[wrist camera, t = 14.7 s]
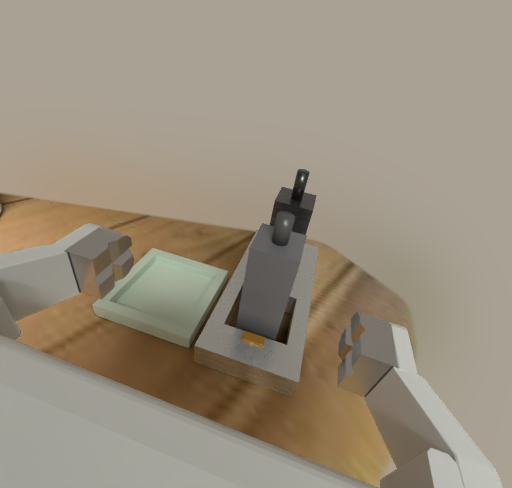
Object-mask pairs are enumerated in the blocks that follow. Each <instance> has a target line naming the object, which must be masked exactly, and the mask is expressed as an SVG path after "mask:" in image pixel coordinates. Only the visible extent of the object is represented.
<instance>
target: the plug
mask: <svg viewBox="0 0 512 488" xmlns="http://www.w3.org/2000/svg"><path fill="white" fill-rule="evenodd" d="M294 220H295V216H294V215H293V214H292V213H290V212H287V211H280V212H278V213H277V217H276V221H275V226H270V225H267V224H262V225H261V227H260V229H259V231H258V233H257V234H256V236H255V238H254V240H253V242H252V244H251V246H250V248H249V254H248V260H247V266H246V271H245V277H244V283H243V289H242V294H241V300H240V306H239V312H238V318H237V323H236V328H238V329H241V330H245V331H248V332H251V333H253V334H256V335H259V336H262V337H265V338H268V339H271V340H274V341H275V340H276V337H277V334H278V331H279V328H280V325H281V322H282V318H283V315H284V312H285V309H286V306H287V303H288V300H289V297H290V293H291V290H292V287H293V284H294V281H295V278H296V275H297V272H298V269H299V265H300V262H301V258H302V253H303V249H304V244H305V240H306V235H303V234H299V233H296V232H292V227H293V224H294Z"/></svg>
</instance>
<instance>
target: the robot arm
mask: <svg viewBox="0 0 512 488" xmlns="http://www.w3.org/2000/svg"><path fill="white" fill-rule="evenodd" d="M1 211H2V205H1V203H0V213H1ZM131 246H132V242H131V238H130V237H129V236H127V235H124V234H122V233H119V232H116V231H113V230H110V229H108V228H105V227H101V226H99V225H96V224H93V223H86V224H84V225H83V226H81V227H79V228H78V229H76V230H74V231H73V232H71V233H70V234H68V235H66V236H65V237H63V238H61V239H60V240H58V241H57V242H55V243H53V244H52V245H50V246H48V245H41V246H36V247H32V248H27V249H22V250H17V251H13V252H8V253H3V254H0V488H378V487H375V486H373V485H370V484H368V483H365V482H363V481H360V480H358V479H355V478H353V477H351V476H348V475H346V474H343V473H341V472H338V471H336V470H333V469H331V468H328V467H326V466H323V465H321V464H318V463H316V462H314V461H311V460H309V459H306V458H304V457H301V456H299V455H296V454H294V453H291V452H289V451H286V450H284V449H282V448H279V447H277V446H274V445H272V444H269V443H267V442H264V441H262V440H259V439H257V438H254V437H252V436H249V435H247V434H245V433H242V432H240V431H237V430H235V429H232V428H230V427H227V426H225V425H222V424H220V423H217V422H215V421H213V420H210V419H208V418H205V417H203V416H200V415H198V414H195V413H193V412H190V411H188V410H185V409H183V408H180V407H178V406H176V405H173V404H171V403H168V402H166V401H163V400H161V399H158V398H156V397H153V396H151V395H148V394H146V393H144V392H141V391H139V390H136V389H134V388H131V387H129V386H126V385H124V384H121V383H119V382H116V381H114V380H111V379H109V378H107V377H104V376H102V375H99V374H97V373H94V372H92V371H89V370H87V369H84V368H82V367H79V366H77V365H74V364H72V363H70V362H67V361H65V360H62V359H60V358H57V357H55V356H52V355H50V354H47V353H45V352H42V351H40V350H37V349H35V348H33V347H30V346H28V345H25V344H23V343H20V342H18V341H15V340H16V339H17V338H18V337H19V336H20V333H21V331H20V329H19V328H18V326H17V324H16V322H15V321H18V320H20V319H22V318H24V317H27V316H29V315H31V314H34V313H36V312H38V311H41V310H43V309H45V308H48V307H50V306H52V305H55V304H57V303H59V302H61V301H64V300H66V299H68V298H71V297H73V296H75V295H78V294H79V292H80V293H83V294H86V295H89V296H92V297H95V298H98V299H101V300H102V299H103V298H104V297H105V296H106V295H107V294H108V293H109V292H110V291H111V290H112V289H113V288H114V287H115V281H118V280H121V279H124V278H125V277H126V276H127V275H128V274H129V272H130V270H131V268H132V266H133V261H134V259H133V254H132V253H131V251H130V250H129V248H130V247H131ZM339 357H340V358H341V360H342V362H341V364H340V365H339V367H338V387H340V388H342V389H345V390H347V391H350V392H352V393H355V394H357V395H360V396H362V397H365V398H364V400H365V402H366V404H367V406H368V408H369V410H370V412H371V414H372V416H373V419H374V421H375V423H376V425H377V427H378V429H379V431H380V433H381V436H382V438H383V440H384V442H385V444H386V446H387V448H388V450H389V452H390V455H391V457H392V459H393V461H394V463H395V465H396V467H397V469H396V470H394V471H393V472H391V473H390V474H388V475H386V476H385V477H383V478H382V479H381V480H380V488H503V487H502V484H501V482H500V479H499V476H498V473H497V471H496V470H495V468H494V467H493V466H492V465H491V463H490V462H489V461H488V459H487V458H486V457H485V456H484V454H483V453H482V452H481V450H480V449H479V448H478V447H477V445H476V444H475V443H474V442H473V440H472V439H471V438H470V437H469V435H468V434H467V433H466V431H465V430H464V429H463V428H462V426H461V425H460V424H459V423H458V421H457V420H456V419H455V417H454V416H453V415H452V414H451V412H450V411H449V410H448V408H447V407H446V406H445V405H444V404H443V402H442V401H441V399H440V398H439V397H438V396H437V394H436V393H435V392H434V391H433V389H432V388H431V387H430V385H429V384H428V383H427V382H426V380H425V379H424V378H423V377H421V376H418V373H417V369H416V365H415V361H414V356H413V352H412V348H411V344H410V339H409V335H408V331H407V329H406V328H405V327H403V326H399V325H396V324H393V323H390V322H386V321H383V320H380V319H377V318H374V317H371V316H368V315H365V314H362V313H359V312H356V313H355V314H354V315H353V317H352V319H351V326H349V327H346V328H345V330H344V332H343V334H342V336H341V339H340V344H339Z"/></svg>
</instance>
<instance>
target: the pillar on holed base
mask: <svg viewBox="0 0 512 488" xmlns="http://www.w3.org/2000/svg"><path fill="white" fill-rule="evenodd" d="M308 176H309V171H307V170H303V169H299V170H298V172H297V176H296V180H295V184H294V188H293V190H292V189H288V188H284V187H282V188H281V190H280V192H279V194H278V196H277V198H276V200H275V203H274V208H273V212H272V217H271V222H270V226H275V221H276V217H277V213H278V212H280V211H287V212H290V213H292V214H293V215H294V216H295V220H294V224H293V227H292V232H296V233H299V234H303V235H306V231H307V228H308V225H309V222H310V218H311V215H312V212H313V208H314V204H315V199H316V195H312V194H308V193H304V190H305V187H306V183H307V180H308ZM258 231H259V230H257V231H256V233H255V235H254V237H253V238H252V240H251V242H250V244H249V246H248V248H247V250H246V251H245V253H244V255H243V257H242V259H241V261H240V262H239V264H238V266H237V268H236V270H235V272H234V273H233V275H232V277H231V279H230V281H229V283H228V285H227V286H226V288H225V290H224V292H223V294H222V296H221V297H220V299H219V301H218V303H217V305H216V307H215V308H214V310H213V312H212V314H211V316H210V318H209V320H208V321H207V323H206V325H205V327H204V329H203V331H202V332H201V334H200V336H199V338H198V340H197V342H196V344H195V345H194V362H195V363H198V364H200V365H203V366H206V367H209V368H212V369H214V370H217V371H220V372H223V373H225V374H228V375H231V376H234V377H236V378H239V379H242V380H245V381H247V382H250V383H253V384H256V385H258V386H261V387H264V388H267V389H269V390H272V391H275V392H278V393H281V394H283V395H286V396H289V397H292V396H293V394H294V392H295V389H296V387H297V385H298V383H299V378H300V371H301V364H302V358H303V351H304V344H305V337H306V331H307V324H308V317H309V310H310V303H311V297H312V290H313V283H314V276H315V270H316V263H317V256H318V249H319V247H316V246H312V245H309V244H304V249H303V253H302V258H301V262H300V265H299V269H298V272H297V275H296V278H295V281H294V284H293V287H292V290H291V293H290V297H289V300H288V303H287V306H286V309H285V312H287V313H290V314H291V319H290V323H289V328H288V333H287V337H286V342H285V344H283V343H280V342H277V341H274V340H271V339H268V338H265V337H262V336H259V335H256V334H253V333H251V332H248V331H245V330H241V329H238V328H235V327H232V326H229V323H230V321H231V319H232V317H233V315H234V312H235V310H236V308H237V306H238V303H239V301H240V299H241V294H242V289H243V283H244V277H245V271H246V266H247V260H248V254H249V248H250V246H251V244H252V242H253V240H254V238H255V236H256V234H257V233H258Z"/></svg>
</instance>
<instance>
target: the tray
mask: <svg viewBox="0 0 512 488" xmlns="http://www.w3.org/2000/svg"><path fill="white" fill-rule="evenodd" d="M227 277H228V271H226V270H223V269H220V268H217V267H213V266H210V265H207V264H204V263H200V262H197V261H194V260H191V259H187V258H184V257H181V256H178V255H174V254H171V253H168V252H165V251H161V250H158V249H155V248H152V249H151V250H150V251H149V252H148V253H147V254H146V255H145V256H144V257H143V258H141V259H140V260H139V261H138V262H137V263H136V264H135V265H134V266H133V267H132V268H131V270H130V272H129V274H128V275H127V276H126V277H125V278H124V279H121V280H118V281H117V282H116V283H115V287H114V288H113V289H112V290H111V291H110V292H109V293H108V294H107V295H106V296H105V297H104V298H103V299H102V300H101V299H98V300H97V301H96V302H95V303H93V304H92V306H93V309H94V313H95V315H96V316H99V317H102V318H105V319H107V320H110V321H113V322H116V323H119V324H122V325H124V326H127V327H130V328H133V329H136V330H138V331H141V332H144V333H147V334H150V335H152V336H155V337H158V338H161V339H164V340H166V341H169V342H172V343H175V344H178V345H181V346H183V347H186V348H190V346H191V344H192V343H193V341H194V339H195V337H196V335H197V334H198V332H199V330H200V328H201V326H202V325H203V323H204V321H205V319H206V317H207V316H208V314H209V312H210V310H211V308H212V307H213V305H214V303H215V301H216V299H217V298H218V296H219V294H220V292H221V290H222V289H223V287H224V285H225V283H226V281H227Z"/></svg>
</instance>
